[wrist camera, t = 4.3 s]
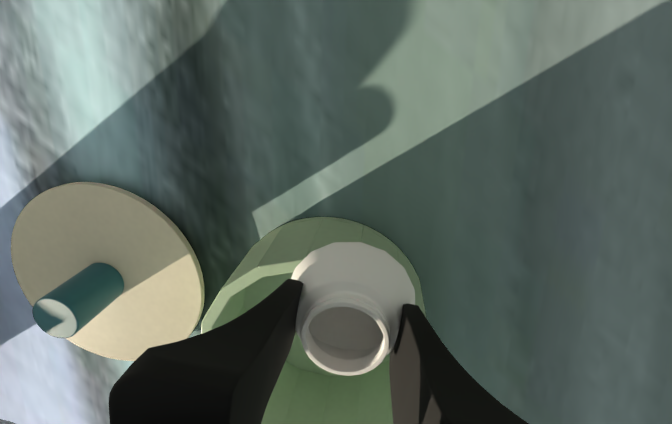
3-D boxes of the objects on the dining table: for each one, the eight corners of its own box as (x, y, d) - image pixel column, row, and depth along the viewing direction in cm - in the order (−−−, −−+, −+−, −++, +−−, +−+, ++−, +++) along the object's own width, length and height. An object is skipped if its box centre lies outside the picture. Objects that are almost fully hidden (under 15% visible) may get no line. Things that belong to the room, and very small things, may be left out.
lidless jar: (270, 263, 16) (324, 357, 17) (246, 304, 13) (313, 412, 14) (383, 218, 15) (432, 322, 16) (382, 253, 12) (442, 375, 13)
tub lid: (205, 366, 27) (167, 429, 23) (37, 329, 28) (-34, 382, 23) (213, 200, 23) (168, 236, 18) (12, 161, 23) (-82, 185, 19)
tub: (399, 392, 26) (402, 471, 21) (232, 355, 27) (196, 424, 22) (444, 238, 22) (462, 290, 17) (245, 199, 23) (204, 238, 17)
